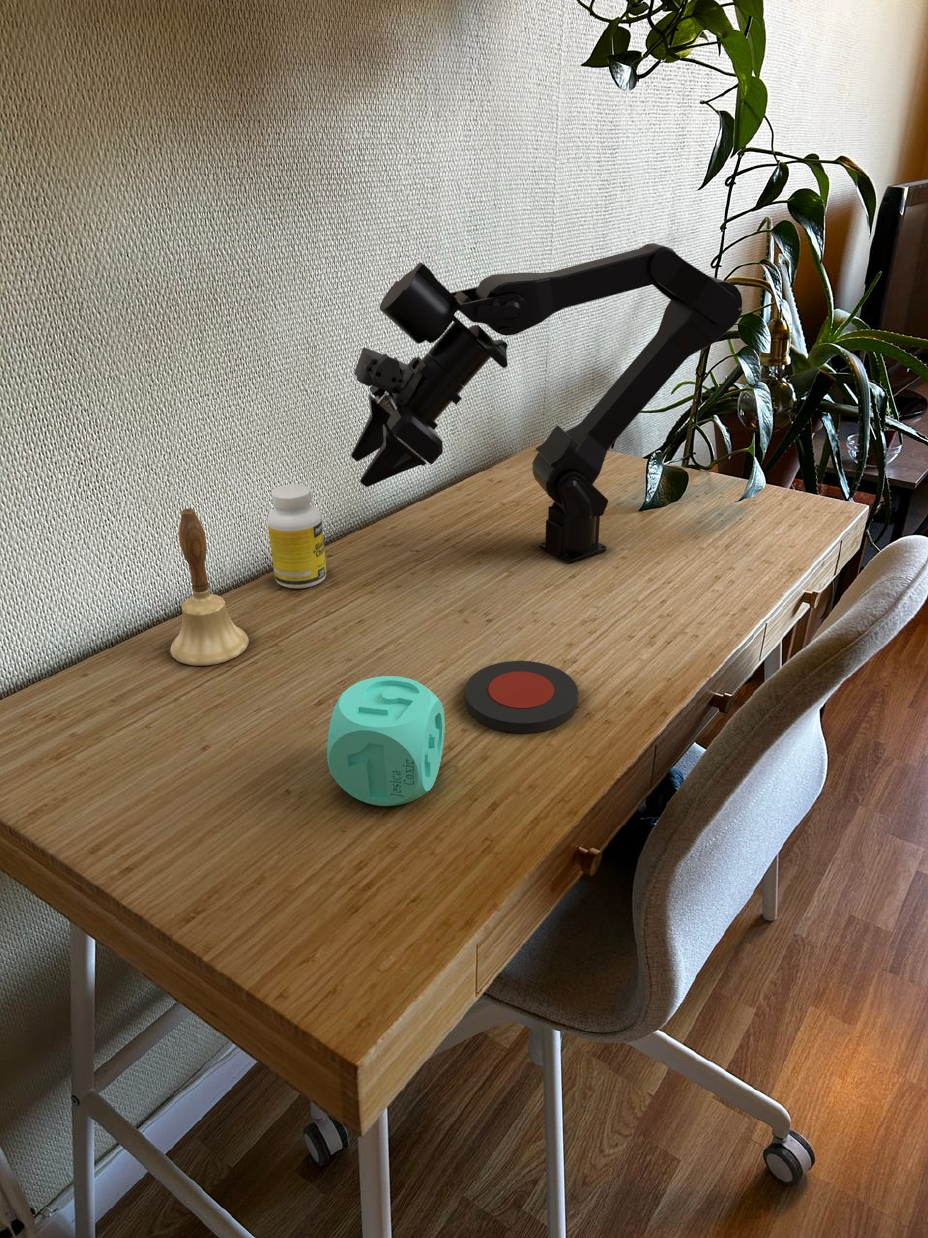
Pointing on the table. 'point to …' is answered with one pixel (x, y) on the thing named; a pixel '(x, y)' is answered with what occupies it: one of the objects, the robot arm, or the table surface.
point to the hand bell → (203, 608)
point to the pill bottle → (296, 538)
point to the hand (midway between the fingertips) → (358, 471)
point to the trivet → (521, 697)
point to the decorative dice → (386, 740)
